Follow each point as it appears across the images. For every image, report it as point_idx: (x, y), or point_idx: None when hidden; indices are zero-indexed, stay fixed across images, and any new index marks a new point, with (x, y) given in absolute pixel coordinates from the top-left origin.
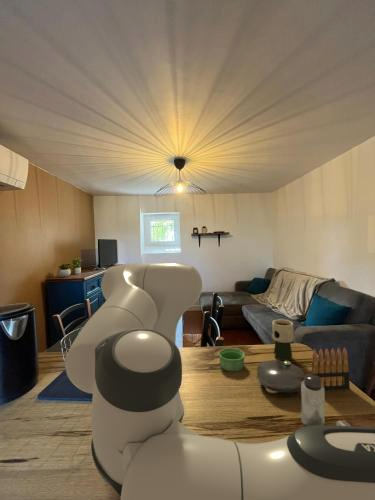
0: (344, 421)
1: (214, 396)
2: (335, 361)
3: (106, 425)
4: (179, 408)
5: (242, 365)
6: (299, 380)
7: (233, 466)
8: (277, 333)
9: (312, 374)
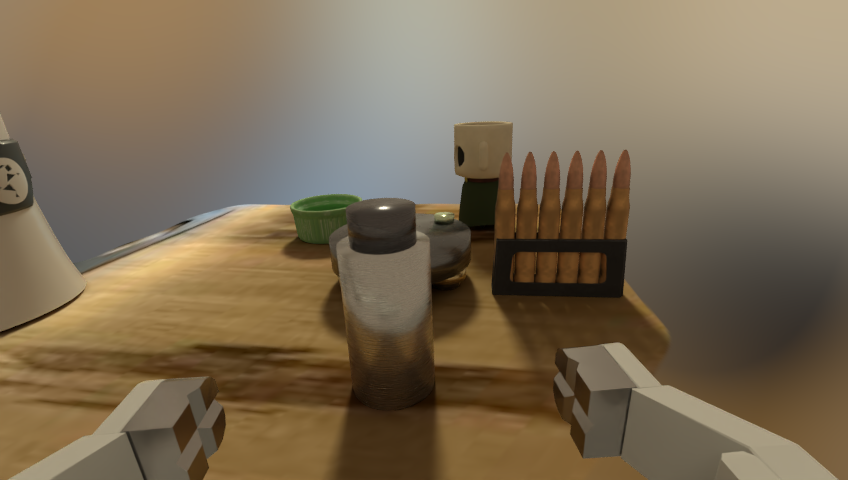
0: (182, 388)
1: (188, 288)
2: (580, 199)
3: None
4: (3, 302)
5: None
6: (431, 253)
7: None
8: (461, 152)
9: (399, 199)
